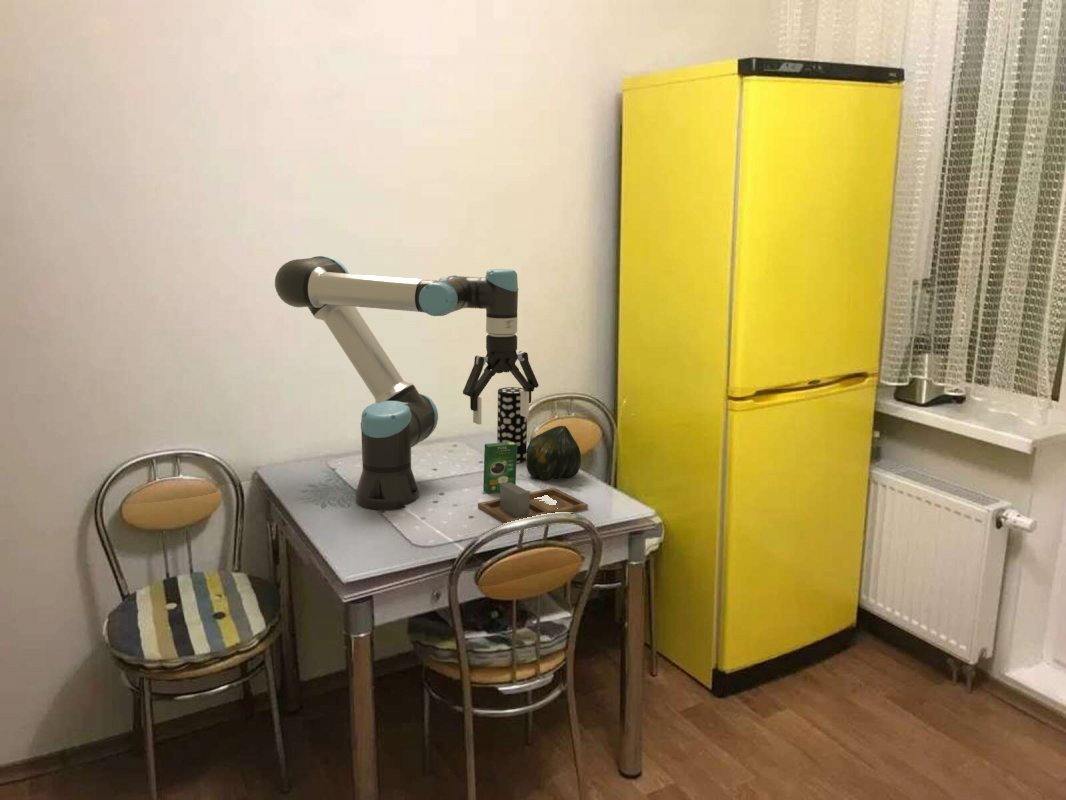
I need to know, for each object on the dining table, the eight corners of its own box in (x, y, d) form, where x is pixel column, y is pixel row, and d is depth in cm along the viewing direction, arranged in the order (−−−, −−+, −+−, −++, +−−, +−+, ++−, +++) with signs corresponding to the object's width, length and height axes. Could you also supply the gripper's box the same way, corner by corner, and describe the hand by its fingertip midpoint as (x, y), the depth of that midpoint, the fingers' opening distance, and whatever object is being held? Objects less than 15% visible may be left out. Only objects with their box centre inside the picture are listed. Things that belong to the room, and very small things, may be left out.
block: (518, 519, 197) (518, 494, 195) (499, 508, 203) (500, 484, 202) (529, 516, 198) (529, 492, 197) (510, 506, 205) (511, 482, 203)
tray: (509, 530, 192) (509, 521, 192) (477, 511, 203) (477, 503, 203) (587, 512, 204) (587, 504, 203) (553, 495, 215) (554, 487, 215)
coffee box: (512, 489, 219) (513, 440, 216) (516, 493, 216) (517, 443, 213) (482, 493, 215) (483, 443, 212) (486, 497, 213) (487, 446, 210)
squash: (506, 455, 229) (537, 421, 220) (543, 446, 240) (573, 413, 231) (535, 499, 224) (567, 465, 215) (570, 487, 235) (602, 455, 227)
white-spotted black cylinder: (492, 456, 246) (493, 388, 241) (519, 453, 250) (520, 386, 245) (504, 464, 239) (504, 394, 234) (531, 461, 242) (532, 392, 238)
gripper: (463, 340, 197) (464, 429, 202) (553, 332, 210) (551, 416, 215) (448, 336, 203) (449, 422, 208) (536, 328, 216) (535, 410, 221)
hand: (501, 419), depth 211 cm, fingers open, 13 cm apart
